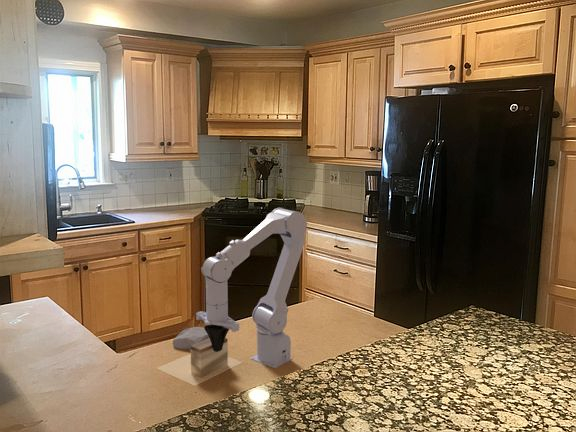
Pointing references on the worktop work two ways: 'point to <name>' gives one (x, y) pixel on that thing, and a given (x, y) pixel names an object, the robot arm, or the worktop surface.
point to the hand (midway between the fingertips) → (217, 350)
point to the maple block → (207, 358)
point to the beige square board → (183, 370)
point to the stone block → (190, 337)
